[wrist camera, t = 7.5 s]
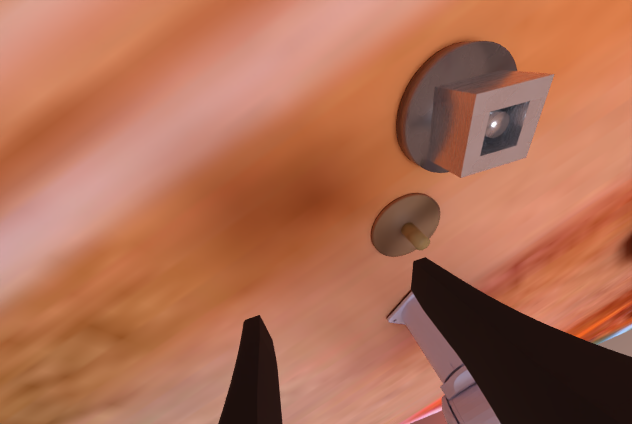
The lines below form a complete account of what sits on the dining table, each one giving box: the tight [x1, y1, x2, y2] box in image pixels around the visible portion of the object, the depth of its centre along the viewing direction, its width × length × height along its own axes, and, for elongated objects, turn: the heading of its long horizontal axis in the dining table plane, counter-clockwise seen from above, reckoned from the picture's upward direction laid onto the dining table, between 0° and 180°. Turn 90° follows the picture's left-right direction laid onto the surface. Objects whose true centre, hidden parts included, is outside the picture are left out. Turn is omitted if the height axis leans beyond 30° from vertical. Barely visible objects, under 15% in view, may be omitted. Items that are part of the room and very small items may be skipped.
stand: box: [371, 193, 440, 257], centre depth 24 cm, size 7×7×3 cm
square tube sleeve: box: [428, 70, 554, 178], centre depth 17 cm, size 5×5×4 cm
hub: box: [397, 41, 517, 173], centre depth 18 cm, size 9×9×4 cm
